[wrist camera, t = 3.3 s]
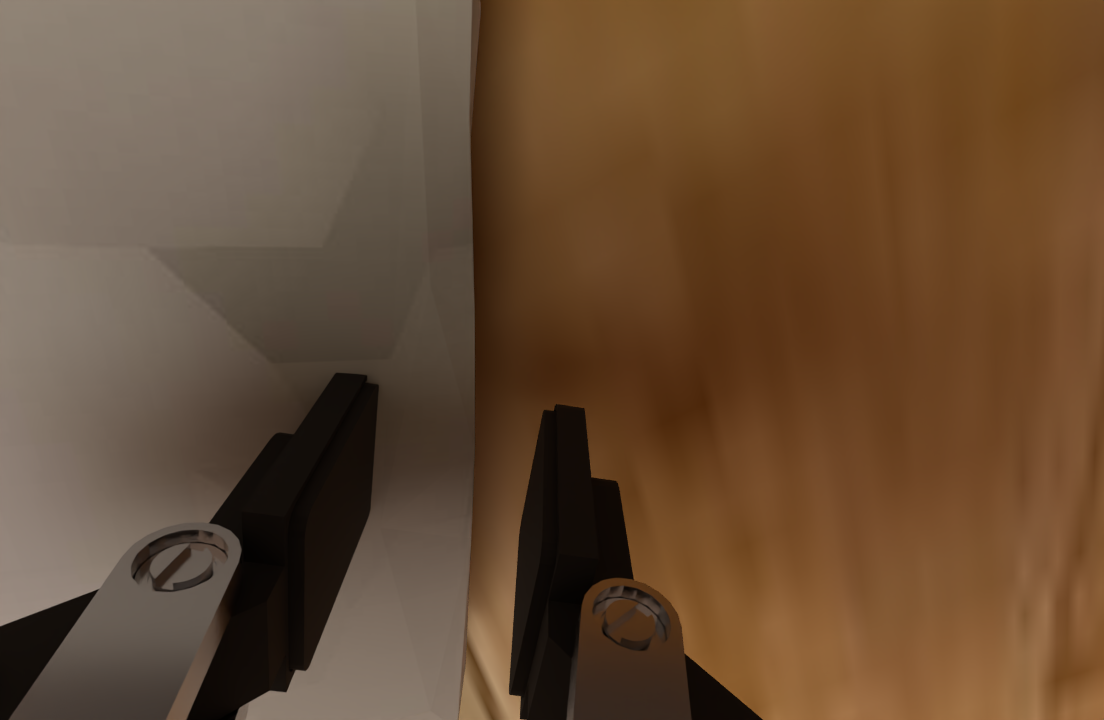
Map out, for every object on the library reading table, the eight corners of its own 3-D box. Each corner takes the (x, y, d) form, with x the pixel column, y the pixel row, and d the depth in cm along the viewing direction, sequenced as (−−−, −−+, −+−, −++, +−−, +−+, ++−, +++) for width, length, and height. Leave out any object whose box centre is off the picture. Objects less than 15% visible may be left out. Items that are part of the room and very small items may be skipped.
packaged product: (456, -71, 12) (-192, -164, 10) (502, -127, 8) (-618, -320, 5) (446, 596, 20) (88, 647, 17) (468, 742, 16) (1, 838, 13)
